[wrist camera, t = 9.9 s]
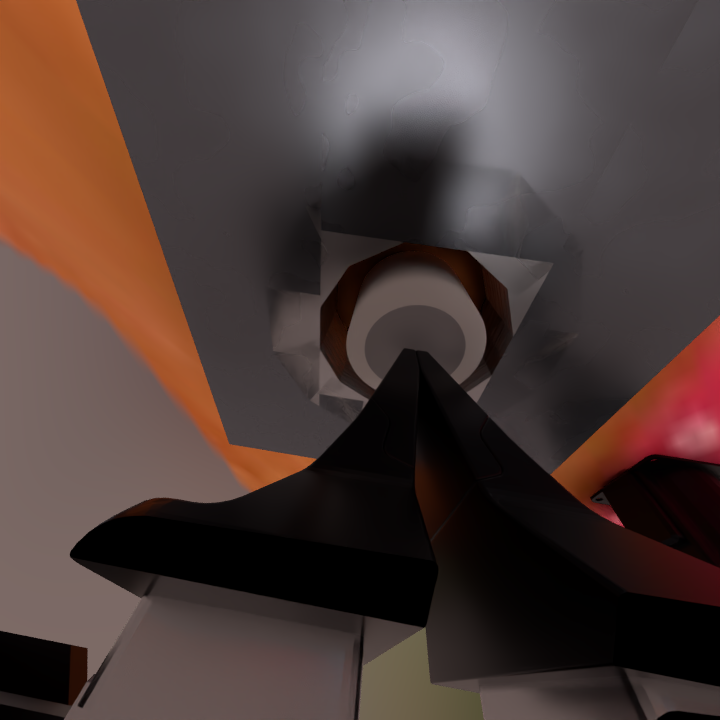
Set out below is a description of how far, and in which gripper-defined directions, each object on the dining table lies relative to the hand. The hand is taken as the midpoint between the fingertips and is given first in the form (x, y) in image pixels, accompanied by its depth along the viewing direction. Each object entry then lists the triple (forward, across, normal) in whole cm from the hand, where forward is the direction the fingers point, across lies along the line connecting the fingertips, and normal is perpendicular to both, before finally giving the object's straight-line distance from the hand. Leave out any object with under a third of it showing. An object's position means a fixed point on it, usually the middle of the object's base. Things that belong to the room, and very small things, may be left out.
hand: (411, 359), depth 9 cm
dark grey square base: (+4, 0, 0) cm, 4 cm away
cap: (+5, 0, 0) cm, 5 cm away
